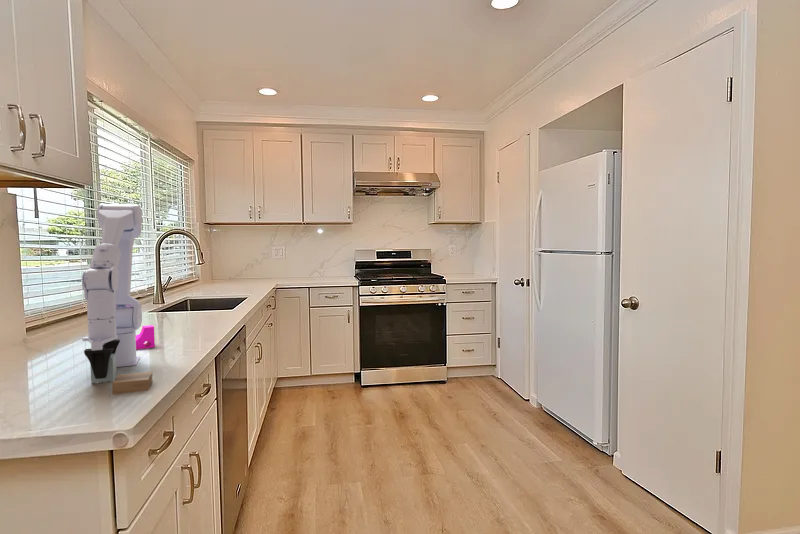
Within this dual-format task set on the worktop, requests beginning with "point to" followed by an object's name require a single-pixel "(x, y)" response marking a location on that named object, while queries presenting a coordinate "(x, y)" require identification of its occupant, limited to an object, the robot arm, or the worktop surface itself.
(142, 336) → the toy block
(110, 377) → the slate block
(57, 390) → the worktop surface
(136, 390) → the walnut plinth
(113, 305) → the robot arm
